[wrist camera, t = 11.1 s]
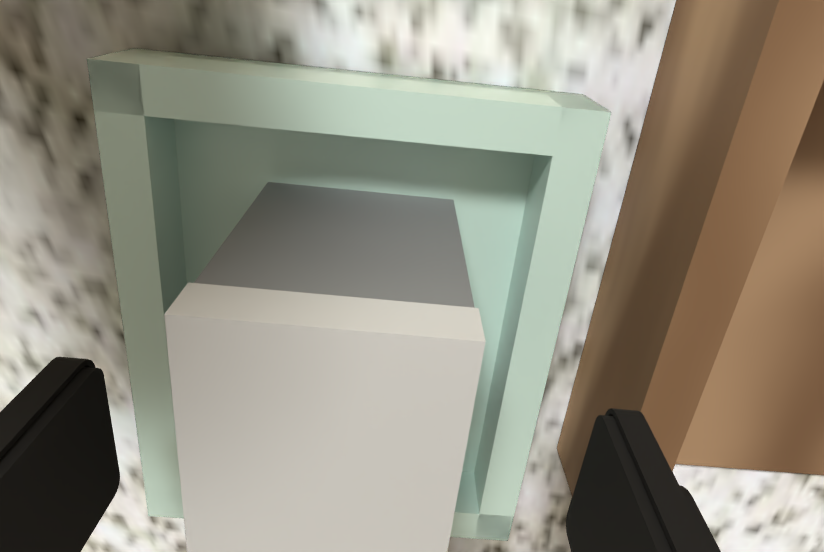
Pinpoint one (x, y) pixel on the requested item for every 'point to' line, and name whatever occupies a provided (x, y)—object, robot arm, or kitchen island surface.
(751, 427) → the bay
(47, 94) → the kitchen island surface
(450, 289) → the off-white upright block
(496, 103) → the tray
